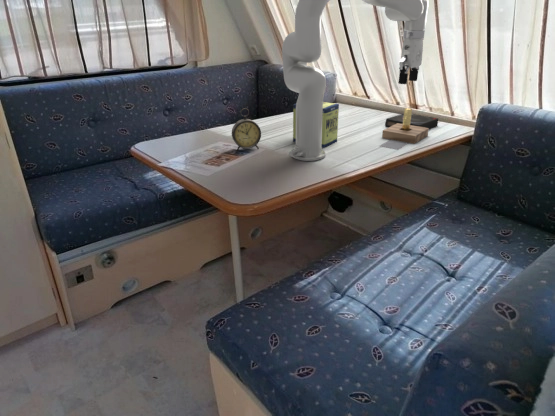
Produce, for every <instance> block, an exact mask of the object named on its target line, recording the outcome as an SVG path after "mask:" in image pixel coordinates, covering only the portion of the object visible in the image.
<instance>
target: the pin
mask: <svg viewBox="0 0 555 416" xmlns="http://www.w3.org/2000/svg"><path fill="white" fill-rule="evenodd" d="M403 110H404V111H403V114H404V117H403V125H402V130H405V131H409V130H410V122H411V114H413V113H412V112H413V108H410V107H405V108H404V109H403Z"/></svg>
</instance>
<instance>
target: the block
mask: <svg viewBox="0 0 555 416" xmlns="http://www.w3.org/2000/svg"><path fill="white" fill-rule="evenodd" d="M402 125H403V124H399V123H397V124H395V125H393V126H391V127H386V128H384V129H383V130H382V135H381V138H382V139H385V140H392V141H398V142H403V143H409V144H414V145H415V144H416V143H418V142H420V141H421V140H423V139H425V138H426V137H428V136H429V131H430V129H429V128H425V127H418V126H412V125H410V130H409V131H405V130H402Z"/></svg>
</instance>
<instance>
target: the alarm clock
mask: <svg viewBox="0 0 555 416" xmlns="http://www.w3.org/2000/svg"><path fill="white" fill-rule="evenodd" d="M243 110H247V115H243V114H242V111H243ZM239 113H240V116H242V117H243V119H239V120H238V121H236V122H235V123H234V125H233V126H232V129H231V137H232V138H231V139H232V140H233V141H234V142H235V143H234V144H235V145H237V148H236V150H235V151H236V152H238V151H239V150H240V148H241V149H244V150H247V149H252V148H254V147H255V148H257V149H258V150H259V149H260V147H259V146H258V144H259V142H260V140H261V139H262V138H261V137H262V131H261V128H260V126H259V125H258V123H257V122H255V121H254V120H252V119H249V118H247V117H248V116H249V115H250V111H249V109H248V108H246V107H245V108H242V109H241V110H240V111H239Z"/></svg>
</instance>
